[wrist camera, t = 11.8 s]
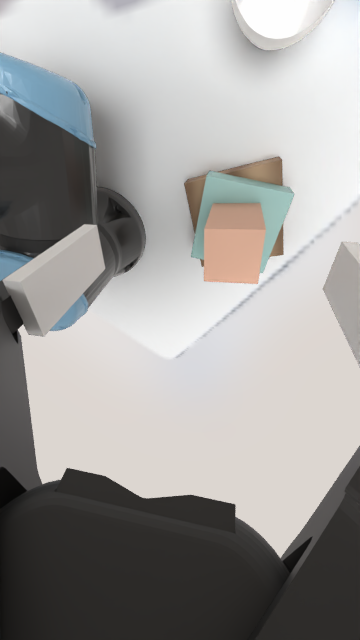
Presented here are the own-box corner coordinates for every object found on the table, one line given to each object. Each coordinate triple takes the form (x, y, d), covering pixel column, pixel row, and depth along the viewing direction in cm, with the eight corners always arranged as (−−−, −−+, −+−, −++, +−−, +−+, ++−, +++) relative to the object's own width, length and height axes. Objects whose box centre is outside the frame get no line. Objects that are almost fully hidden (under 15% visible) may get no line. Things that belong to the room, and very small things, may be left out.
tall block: (211, 247, 37) (203, 281, 30) (212, 203, 34) (204, 228, 26) (254, 248, 36) (257, 283, 29) (260, 203, 33) (266, 229, 25)
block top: (194, 246, 42) (190, 256, 39) (209, 170, 35) (206, 175, 32) (261, 261, 41) (262, 273, 38) (289, 187, 35) (294, 194, 31)
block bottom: (204, 256, 47) (201, 266, 44) (188, 178, 40) (184, 183, 37) (280, 245, 43) (283, 254, 40) (278, 156, 36) (282, 159, 33)
